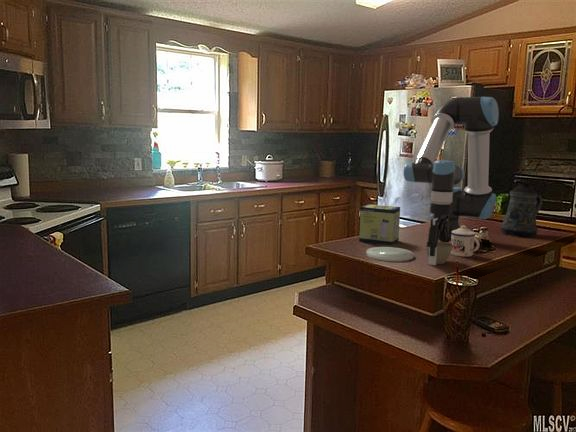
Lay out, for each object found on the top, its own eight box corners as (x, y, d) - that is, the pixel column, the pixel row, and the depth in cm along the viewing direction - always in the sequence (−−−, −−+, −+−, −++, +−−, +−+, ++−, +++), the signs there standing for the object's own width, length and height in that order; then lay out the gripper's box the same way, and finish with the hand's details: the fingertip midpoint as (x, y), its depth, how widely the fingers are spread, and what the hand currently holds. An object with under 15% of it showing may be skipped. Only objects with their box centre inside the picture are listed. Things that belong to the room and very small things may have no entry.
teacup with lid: (444, 253, 203) (447, 225, 201) (458, 250, 208) (460, 223, 207) (470, 259, 194) (473, 230, 192) (484, 256, 199) (487, 228, 197)
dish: (378, 248, 209) (378, 244, 209) (420, 255, 199) (420, 251, 199) (358, 256, 194) (358, 252, 194) (402, 264, 184) (403, 260, 184)
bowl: (452, 266, 182) (454, 247, 181) (424, 264, 184) (425, 245, 183) (449, 260, 192) (451, 241, 191) (422, 258, 194) (424, 240, 193)
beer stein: (495, 234, 247) (500, 183, 243) (508, 229, 262) (513, 181, 258) (531, 239, 237) (537, 186, 232) (542, 233, 251) (548, 183, 247)
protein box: (365, 237, 232) (367, 203, 229) (398, 241, 225) (401, 206, 222) (358, 241, 222) (359, 206, 220) (393, 245, 216) (395, 209, 213)
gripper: (440, 199, 196) (436, 254, 199) (420, 204, 177) (416, 266, 181) (460, 200, 192) (455, 257, 195) (441, 207, 173) (437, 269, 177)
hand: (436, 261), depth 188 cm, fingers closed on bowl, 10 cm apart
